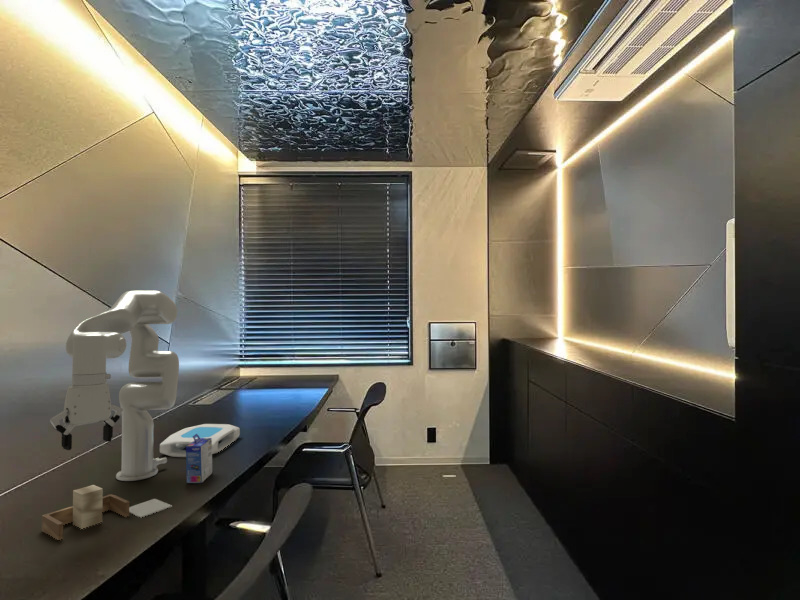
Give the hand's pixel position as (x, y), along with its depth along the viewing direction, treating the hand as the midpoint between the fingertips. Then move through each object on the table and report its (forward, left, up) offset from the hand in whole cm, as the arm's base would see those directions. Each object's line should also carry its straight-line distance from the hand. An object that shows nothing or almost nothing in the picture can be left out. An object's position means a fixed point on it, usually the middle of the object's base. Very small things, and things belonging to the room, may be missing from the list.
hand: (87, 444), depth 127 cm
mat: (-14, +4, -21) cm, 25 cm away
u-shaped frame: (0, 0, -21) cm, 21 cm away
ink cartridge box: (-37, -6, -21) cm, 43 cm away
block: (0, 0, -21) cm, 21 cm away
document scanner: (-60, -38, -21) cm, 74 cm away
